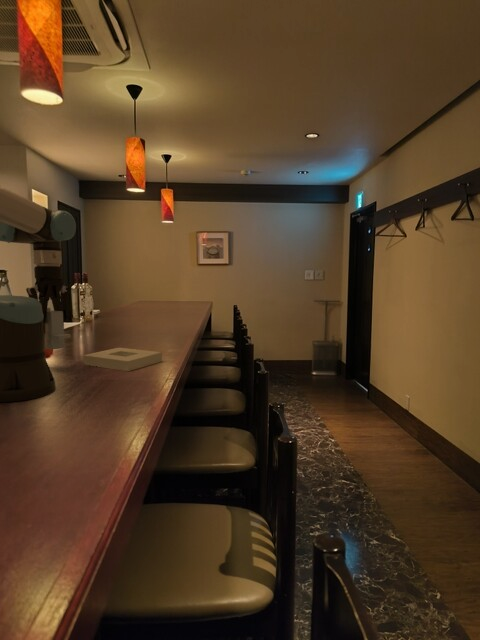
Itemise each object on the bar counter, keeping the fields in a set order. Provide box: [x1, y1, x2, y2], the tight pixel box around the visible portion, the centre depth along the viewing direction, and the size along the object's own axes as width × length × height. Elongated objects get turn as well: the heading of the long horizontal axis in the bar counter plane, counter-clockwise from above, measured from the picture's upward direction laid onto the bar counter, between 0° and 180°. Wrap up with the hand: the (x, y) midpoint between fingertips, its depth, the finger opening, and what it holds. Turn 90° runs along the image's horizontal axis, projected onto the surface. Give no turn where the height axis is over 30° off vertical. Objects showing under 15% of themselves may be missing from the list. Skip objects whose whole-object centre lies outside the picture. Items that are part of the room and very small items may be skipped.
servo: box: [45, 307, 72, 351], centre depth 127 cm, size 4×12×12 cm, turn 60°
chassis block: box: [83, 347, 163, 372], centre depth 134 cm, size 15×19×3 cm
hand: (52, 343), depth 127 cm, fingers closed on servo, 4 cm apart
